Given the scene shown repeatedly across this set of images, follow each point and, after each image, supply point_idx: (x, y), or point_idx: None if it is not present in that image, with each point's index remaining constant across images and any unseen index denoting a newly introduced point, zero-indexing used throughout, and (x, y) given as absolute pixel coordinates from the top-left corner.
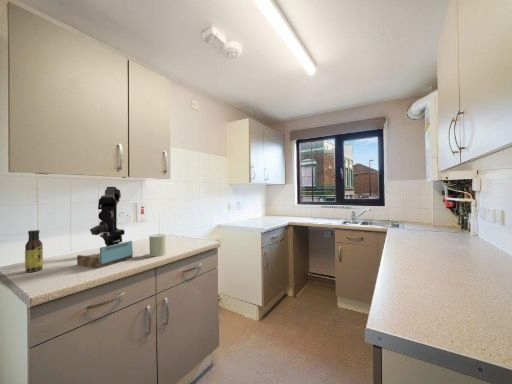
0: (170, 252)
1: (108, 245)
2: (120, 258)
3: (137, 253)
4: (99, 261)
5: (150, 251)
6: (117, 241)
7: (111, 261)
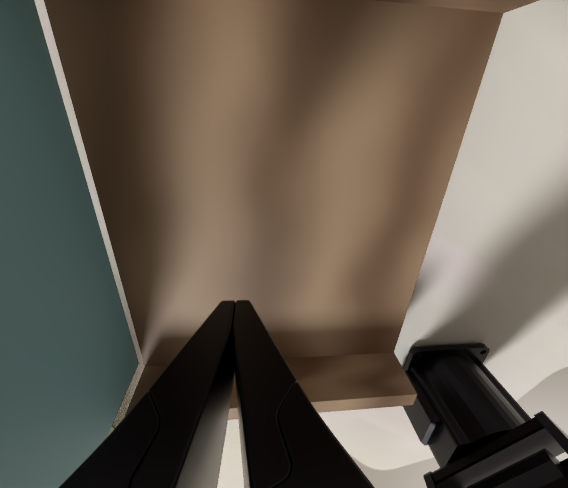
0: None
1: (202, 332)
2: (123, 271)
3: None
4: (180, 78)
5: None
6: (464, 481)
7: (99, 171)
